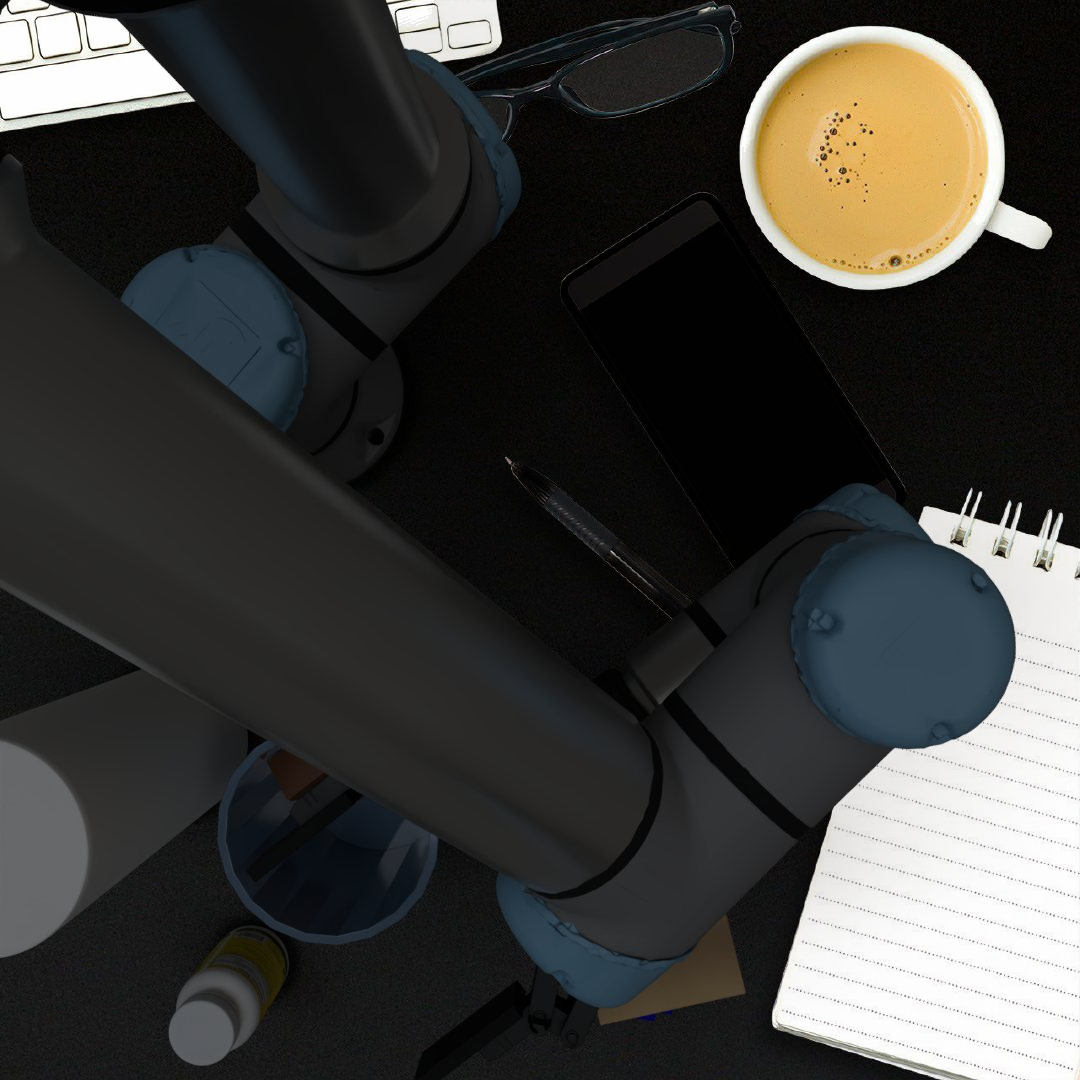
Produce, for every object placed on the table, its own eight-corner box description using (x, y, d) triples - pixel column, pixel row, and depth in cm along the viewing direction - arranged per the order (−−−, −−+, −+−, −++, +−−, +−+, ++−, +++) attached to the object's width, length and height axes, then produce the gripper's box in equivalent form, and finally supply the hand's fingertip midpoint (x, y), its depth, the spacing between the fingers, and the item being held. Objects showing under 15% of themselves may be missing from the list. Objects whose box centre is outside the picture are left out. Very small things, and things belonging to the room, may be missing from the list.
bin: (274, 701, 78) (193, 751, 62) (444, 660, 77) (407, 700, 61) (317, 871, 78) (248, 965, 62) (487, 832, 77) (462, 917, 61)
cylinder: (244, 821, 78) (84, 969, 53) (94, 811, 79) (-135, 952, 54) (251, 668, 78) (92, 744, 53) (99, 658, 78) (-129, 729, 53)
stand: (571, 760, 77) (564, 882, 52) (669, 737, 76) (710, 849, 51) (595, 857, 77) (600, 1025, 52) (693, 834, 76) (746, 994, 51)
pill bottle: (235, 1009, 79) (178, 1090, 68) (204, 939, 78) (142, 1010, 67) (303, 980, 78) (257, 1058, 67) (273, 911, 78) (222, 977, 67)
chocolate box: (387, 729, 77) (321, 718, 66) (407, 763, 76) (344, 756, 65) (338, 767, 77) (265, 761, 67) (358, 801, 76) (287, 800, 66)
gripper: (799, 884, 53) (496, 1113, 54) (514, 526, 53) (219, 762, 54) (835, 947, 45) (482, 1211, 46) (502, 529, 45) (160, 803, 46)
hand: (339, 970), depth 50 cm, fingers open, 13 cm apart
